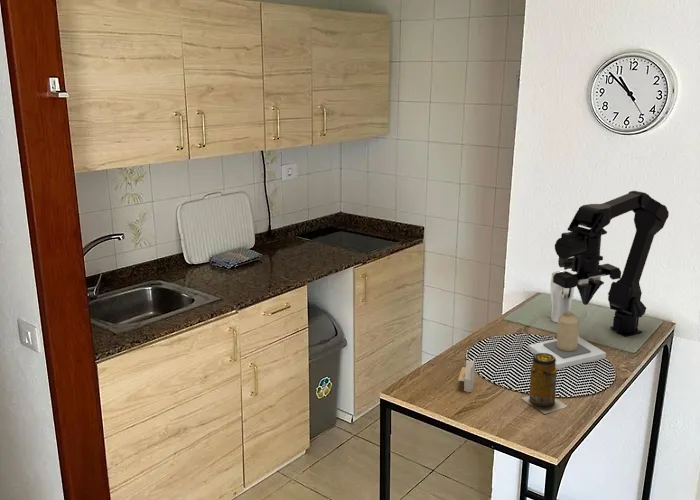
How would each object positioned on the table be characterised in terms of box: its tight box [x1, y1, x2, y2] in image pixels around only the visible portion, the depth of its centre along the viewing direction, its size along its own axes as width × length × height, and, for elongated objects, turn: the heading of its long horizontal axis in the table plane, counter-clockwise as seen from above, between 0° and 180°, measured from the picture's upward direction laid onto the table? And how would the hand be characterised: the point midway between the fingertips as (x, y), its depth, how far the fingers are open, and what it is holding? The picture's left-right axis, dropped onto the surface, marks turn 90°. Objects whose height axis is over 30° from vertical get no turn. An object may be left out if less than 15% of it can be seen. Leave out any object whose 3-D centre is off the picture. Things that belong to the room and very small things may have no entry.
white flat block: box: [528, 336, 607, 370], centre depth 182 cm, size 16×13×2 cm
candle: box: [556, 311, 580, 351], centre depth 181 cm, size 6×6×10 cm
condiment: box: [520, 353, 568, 415], centre depth 157 cm, size 7×8×12 cm
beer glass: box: [549, 270, 575, 324], centre depth 202 cm, size 7×7×15 cm
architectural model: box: [458, 357, 476, 393], centre depth 168 cm, size 3×7×7 cm, turn 162°
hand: (585, 304), depth 183 cm, fingers closed
